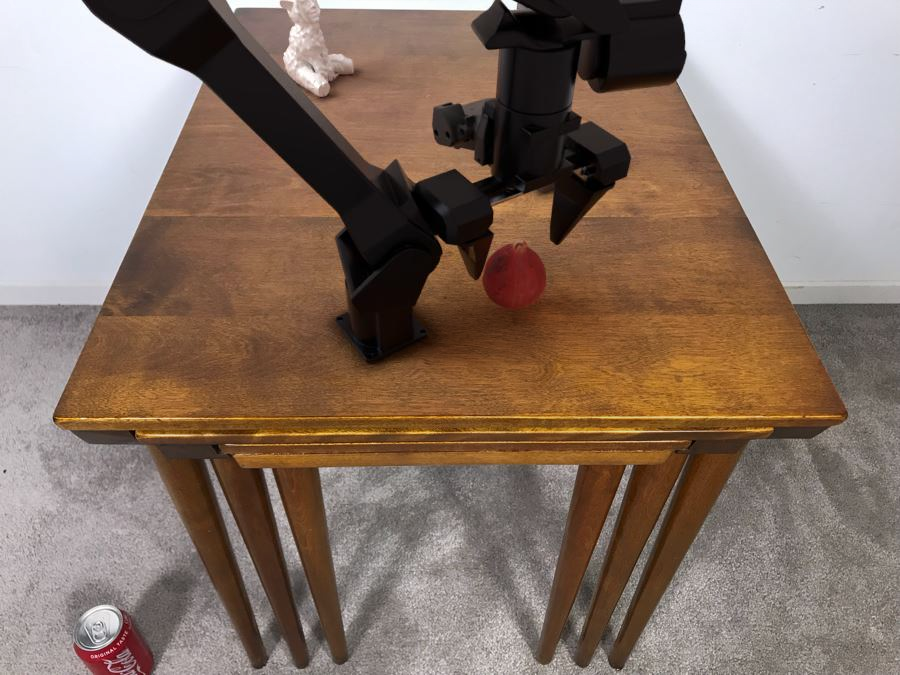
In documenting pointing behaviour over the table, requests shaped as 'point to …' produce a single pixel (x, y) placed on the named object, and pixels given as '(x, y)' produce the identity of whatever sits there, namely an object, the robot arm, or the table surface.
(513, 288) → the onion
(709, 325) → the table surface
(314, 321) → the table surface
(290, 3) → the seated beast figurine
